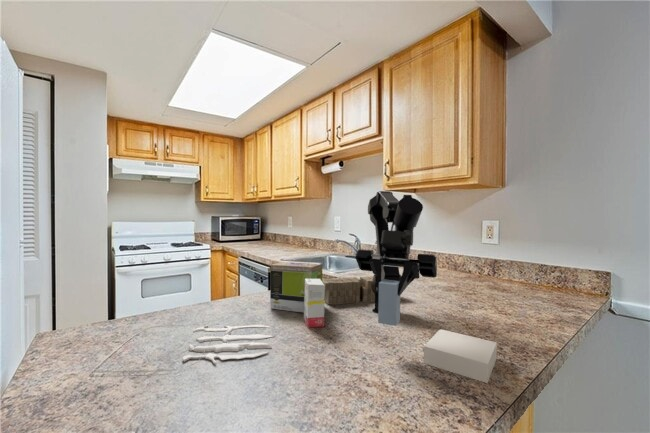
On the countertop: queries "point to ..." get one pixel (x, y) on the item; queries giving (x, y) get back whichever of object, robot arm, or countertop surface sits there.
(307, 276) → the tea box
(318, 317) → the ink box
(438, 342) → the base block
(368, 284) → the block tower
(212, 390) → the countertop surface
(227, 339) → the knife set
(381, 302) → the blue pillar
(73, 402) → the countertop surface
